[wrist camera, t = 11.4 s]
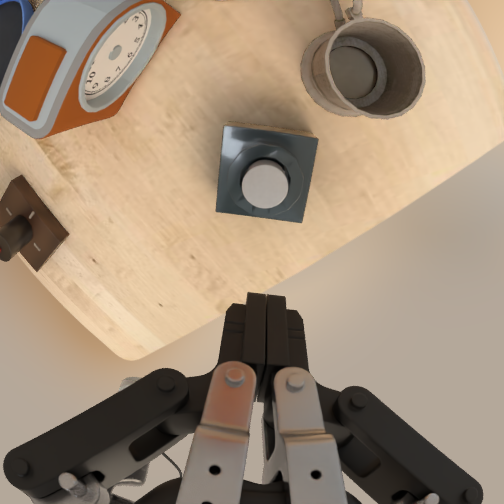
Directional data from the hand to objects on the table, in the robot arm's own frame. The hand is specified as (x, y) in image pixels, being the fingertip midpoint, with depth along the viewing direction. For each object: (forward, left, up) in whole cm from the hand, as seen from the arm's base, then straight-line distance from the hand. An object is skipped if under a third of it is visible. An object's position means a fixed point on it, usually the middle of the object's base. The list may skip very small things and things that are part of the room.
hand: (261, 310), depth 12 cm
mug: (+14, -6, -24) cm, 28 cm away
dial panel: (-11, +33, -24) cm, 42 cm away
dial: (-11, +33, -21) cm, 41 cm away
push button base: (0, 0, -24) cm, 24 cm away
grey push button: (0, 0, -18) cm, 18 cm away
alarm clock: (+12, +18, -24) cm, 32 cm away
